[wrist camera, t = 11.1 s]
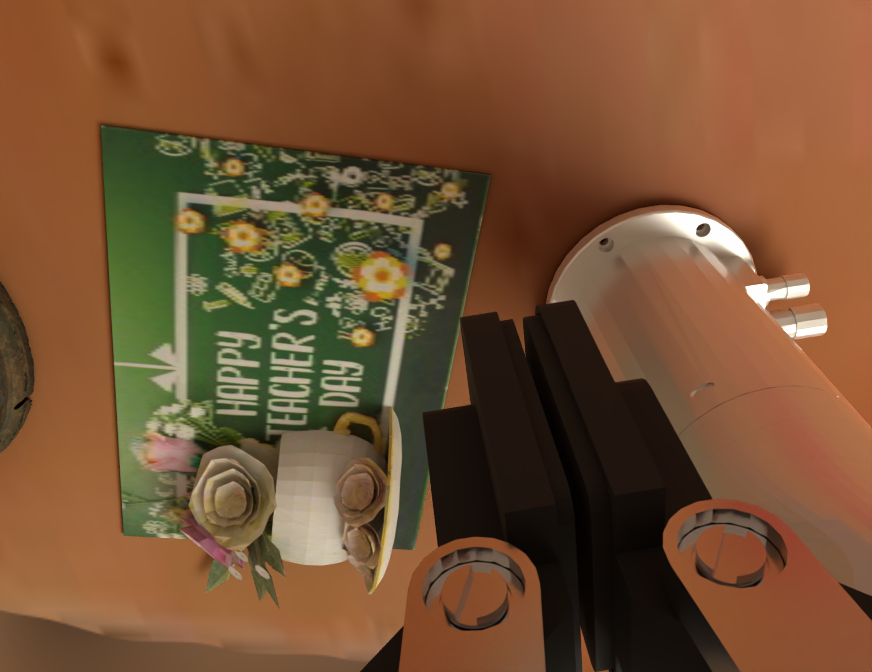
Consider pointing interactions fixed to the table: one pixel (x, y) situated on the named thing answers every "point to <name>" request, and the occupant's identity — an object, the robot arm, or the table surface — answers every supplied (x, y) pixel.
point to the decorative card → (280, 344)
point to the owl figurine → (13, 370)
